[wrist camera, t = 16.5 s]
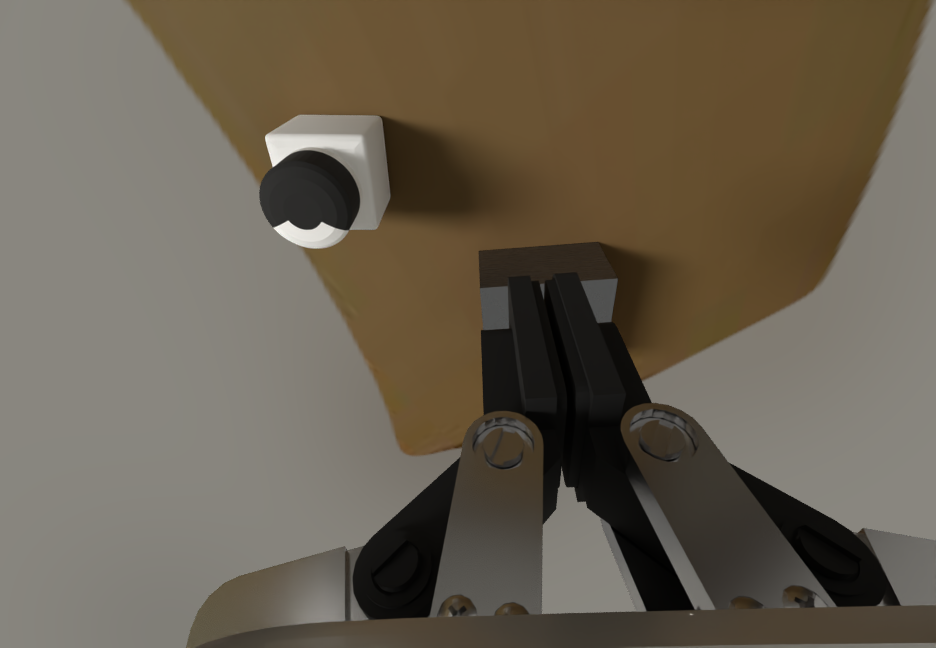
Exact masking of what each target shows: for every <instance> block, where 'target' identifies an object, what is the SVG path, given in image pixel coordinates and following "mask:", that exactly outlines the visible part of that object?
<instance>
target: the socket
mask: <svg viewBox="0 0 936 648" xmlns="http://www.w3.org/2000/svg"><path fill="white" fill-rule="evenodd" d="M479 272H480V294H481V306H482V319H483V330H494V329H509V310H508V277H514V276H528V275H530V278H531V281H539V283H540V287H541V291H542V295H543V299H544V284H545V280H552V277H553V274H556V273H570V272H577V274H578V276H579V279H580V281H581V283H582V286H583V288H584V291H585V293H586V296H587V298H588V301H589V303H590V306H591V308H592V311H593V313H594V316H595V318H596V321H597V323H603V322H611V319H612V313H613V306H614V300H615V294H616V288H617V282H618V278H617V276H616V274H615V272H614V270H613V268H612V267H611V265H610V263H609V261H608V259H607V257H606V256H605V254H604V252H603V250H602V248H601V247H600V245H599V243H598V242H592V243H578V244H565V245H552V246H538V247H525V248H512V249H498V250H485V251H479Z"/></svg>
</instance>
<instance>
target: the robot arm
mask: <svg viewBox="0 0 936 648" xmlns="http://www.w3.org/2000/svg"><path fill="white" fill-rule="evenodd" d="M508 310H509V329H494V330H481V347H482V377H483V407H484V415H483V416H481V417H480V418H478V419H477V420H475V421H474V422H473V423H472V425H471V426H470V427H469V428H468V430H467V432H466V435H465V437H464V441H463V446H462V452H461V457H460V458H459V459H458V460H457V461H456V462H454V463H453V464H452V465H451V466H450V467H449V468H448V469H447V470H446V471H444V472H443V473H442V474H441V475H440V476H439V477H438V478H437V479H436V480H434V481H433V482H432V484H430V485H429V486H428V487H427V488H426V489H425V490H423V491H422V492H421V493H420V494H419V495H418V496H417V497H416V498H415V499H413V500H412V501H411V502H410V503H409V504H408V505H407V506H406V507H405V508H404V509H402V510H401V511H400V512H399V513H398V514H397V515H396V516H395V517H394V518H392V519H391V520H390V521H389V522H388V523H387V524H386V525H385V526H384V527H383V528H381V529H380V530H379V531H378V532H377V533H376V534H375V535H374V536H373V537H372V538H371V539H370V540H369V541H368V543H366V545H365V546H362V547H358V548H355V549H351V550H348V551H347V549H346V547H345V546H344V547H340V548H337V549H333V550H330V551H326V552H323V553H319V554H315V555H312V556H309V557H305V558H301V559H298V560H294V561H291V562H287V563H284V564H280V565H277V566H273V567H270V568H266V569H263V570H259V571H255V572H252V573H248V574H245V575H241V576H238V577H236V578H234V579H232V580H230V581H228V582H225V583H224V584H223V585H222V586H220V587H219V588H218V589H217V590H216V591H214V592H213V593H212V594H211V595H210V596H209V597H208V599H207V600H206V601H205V603H204V604H203V605H202V607H201V608H200V609H199V611H198V613H197V615H196V618H195V620H194V622H193V625H192V627H191V630H190V634H189V638H188V642H187V646H186V648H936V540H929V539H923V538H918V537H912V536H907V535H901V534H895V533H889V532H883V531H878V530H872V529H866V528H862V529H861V530H860V531H859V532H858V533H855V532H852V531H850V530H849V529H847V528H846V527H844V526H843V525H841V524H839V523H838V522H837V521H835V520H833V519H832V518H830V517H828V516H826V515H824V514H822V513H821V512H819V511H817V510H815V509H813V508H811V507H810V506H808V505H806V504H804V503H802V502H800V501H798V500H797V499H795V498H793V497H791V496H789V495H788V494H786V493H784V492H782V491H780V490H778V489H777V488H775V487H773V486H771V485H769V484H767V483H765V482H764V481H762V480H760V479H758V478H756V477H754V476H753V475H751V474H749V473H747V472H745V471H744V470H741V469H740V468H738V467H736V466H734V465H732V464H730V463H729V462H728V461H727V460H726V458H725V457H724V456H723V454H722V453H721V452H720V450H719V449H718V448H717V446H716V445H715V444H714V442H713V441H712V440H711V438H710V437H709V436H708V434H707V433H706V432H705V430H704V429H703V428H702V427H701V426H700V425H699V423H698V422H697V421H696V420H695V419H694V418H693V417H691V416H690V415H688V414H686V413H685V412H683V411H682V410H679V409H677V408H674V407H672V406H669V405H664V404H658V403H652V402H651V400H650V398H649V396H648V394H647V391H646V389H645V387H644V385H643V383H642V381H641V378H640V376H639V374H638V372H637V370H636V368H635V365H634V363H633V361H632V359H631V357H630V355H629V352H628V350H627V348H626V346H625V344H624V341H623V339H622V337H621V335H620V333H619V331H618V328H617V327H616V325H615V323H613V322H603V323H597V321H596V318H595V316H594V313H593V311H592V308H591V306H590V303H589V301H588V298H587V296H586V293H585V291H584V288H583V286H582V283H581V281H580V279H579V276H578V274H577V272H570V273H556V274H553V277H552V280H545V284H544V299H543V295H542V291H541V287H540V283H539V281H531V278H530V275H528V276H514V277H508ZM561 466H562V471H563V476H564V481H565V485H566V487H574V488H575V492H576V497H577V501H578V502H583V501H584V502H585V501H586V504H587V508H588V509H590V510H591V511H592V512H594V513H595V514H596V515H598V516H599V517H600V518H601V523H602V528H603V531H604V533H605V536H606V538H607V541H608V543H609V546H610V548H611V551H612V553H613V555H614V558H615V560H616V563H617V565H618V568H619V570H620V573H621V575H622V578H623V580H624V582H625V585H626V587H627V590H628V592H629V595H630V597H631V600H632V602H633V604H634V607H635V609H636V612H606V613H605V612H604V613H565V614H542V535H543V529H542V528H543V524H544V523H545V521H546V520H547V519H548V518H549V517H550V516H551V514H552V513H553V512H554V511H555V510H556V503H557V493H558V488H559V486H560V476H561Z"/></svg>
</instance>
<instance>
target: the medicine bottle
mask: <svg viewBox="0 0 936 648" xmlns="http://www.w3.org/2000/svg"><path fill="white" fill-rule="evenodd" d="M265 140H266V144H267V147H268V151H269V155H270V158H271V162H272V165H273V168H272V169H270V170H269V171H268V172H267V174H266V175H265V176H264V178H263V180H262V182H261V186H260V192H259V193H260V204H261V207H262V210H263V212H264V215H265V216H266V218H267V220H268V222H269V223H270V224H271V225H272V227H273V228H274V229H275V230H276V231H277V232H278V233H279V234H280V235H282V236H283V237H285V238H286V239H287V240H289V241H291V242H293V243H295V244H297V245H300V246H303V247H307V248H317V249H318V248H326V247H330V246H332V245H335V244H337V243H338V242H340V241H341V240H342V239H343V238H344V237H345V236H346V234H347V233H348V231H349V230H375V229H377V228H378V226H379V223H380V221H381V219H382V216H383V214H384V212H385V209H386V207H387V205H388V202H389V200H390V197H391V195H390V186H389V177H388V168H387V159H386V150H385V141H384V132H383V123H382V118H381V117H380V116H367V115H298V116H296V117H294V118H293V119H291V120H290V121H288V122H286V123H285V124H283V125H281V126H280V127H278V128H276V129H275V130H273V131H272V132H270V133H268V134H267V135H266V137H265Z"/></svg>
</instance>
